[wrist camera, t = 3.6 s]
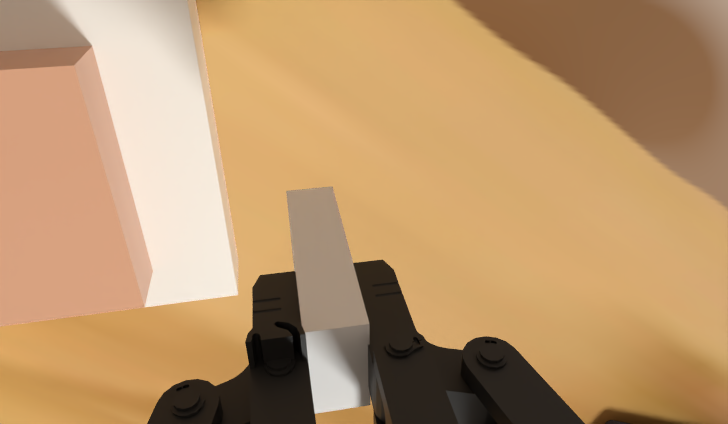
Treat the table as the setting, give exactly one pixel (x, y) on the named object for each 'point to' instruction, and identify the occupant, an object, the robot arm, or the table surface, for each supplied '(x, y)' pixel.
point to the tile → (64, 193)
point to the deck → (152, 128)
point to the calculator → (615, 422)
